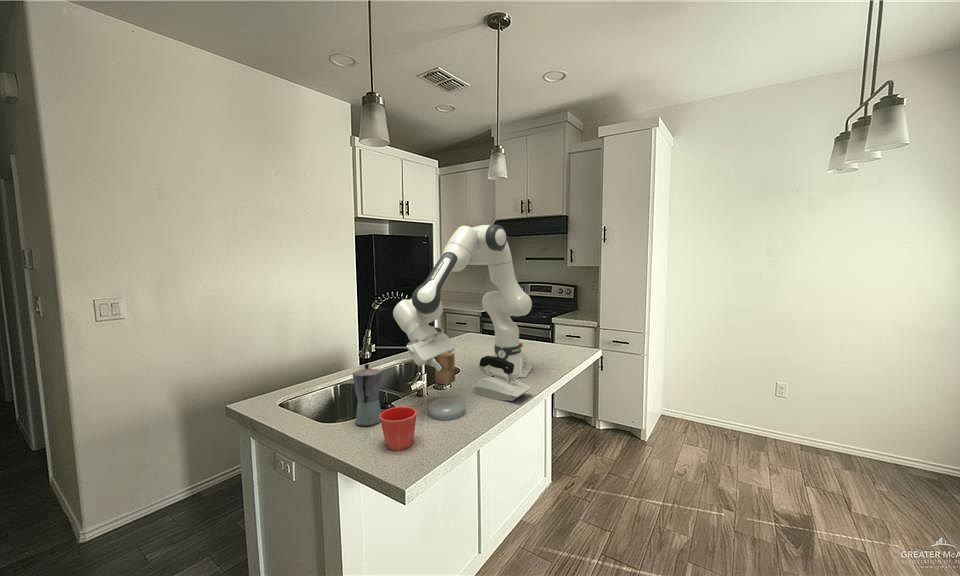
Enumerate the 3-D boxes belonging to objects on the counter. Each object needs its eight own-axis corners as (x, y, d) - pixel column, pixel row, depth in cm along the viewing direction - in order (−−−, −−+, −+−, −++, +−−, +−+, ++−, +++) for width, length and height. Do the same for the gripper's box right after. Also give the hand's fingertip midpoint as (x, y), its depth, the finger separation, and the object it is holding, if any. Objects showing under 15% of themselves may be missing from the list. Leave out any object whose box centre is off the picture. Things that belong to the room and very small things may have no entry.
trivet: (442, 403, 146) (442, 395, 146) (471, 409, 139) (471, 401, 139) (421, 416, 135) (421, 408, 135) (451, 423, 128) (451, 415, 128)
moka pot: (384, 411, 140) (380, 358, 138) (383, 429, 125) (380, 370, 124) (356, 414, 138) (353, 360, 136) (353, 433, 123) (349, 373, 121)
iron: (518, 405, 142) (517, 366, 140) (467, 393, 156) (465, 357, 155) (532, 396, 150) (531, 359, 149) (482, 385, 165) (481, 351, 163)
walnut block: (443, 378, 139) (442, 351, 139) (455, 380, 137) (454, 353, 136) (435, 382, 135) (434, 355, 134) (447, 384, 133) (446, 356, 132)
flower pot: (394, 433, 123) (393, 404, 122) (424, 438, 118) (423, 408, 118) (373, 449, 113) (372, 417, 112) (405, 456, 109) (403, 423, 108)
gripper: (409, 338, 129) (433, 369, 125) (444, 327, 147) (466, 354, 143) (399, 349, 132) (423, 381, 128) (435, 337, 149) (457, 365, 145)
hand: (446, 367), depth 135 cm, fingers closed on walnut block, 5 cm apart
